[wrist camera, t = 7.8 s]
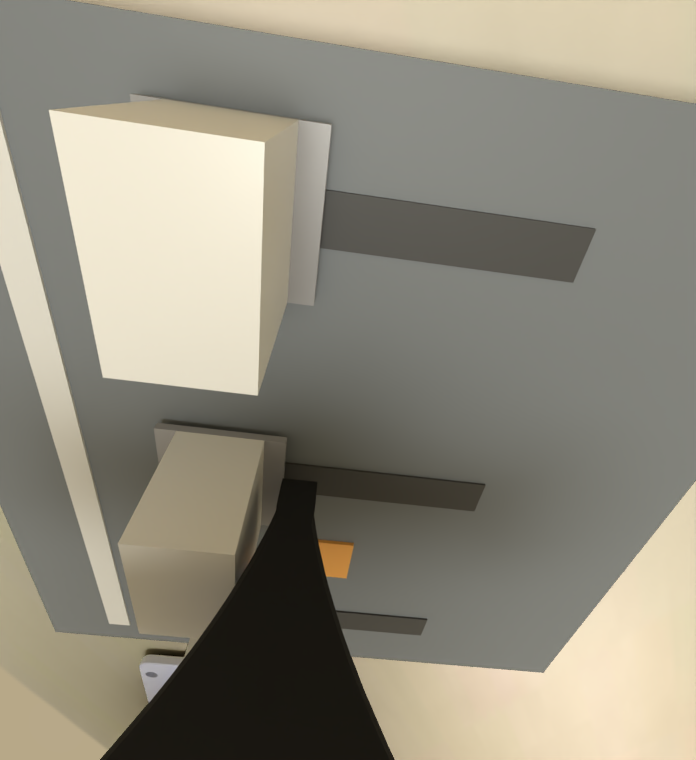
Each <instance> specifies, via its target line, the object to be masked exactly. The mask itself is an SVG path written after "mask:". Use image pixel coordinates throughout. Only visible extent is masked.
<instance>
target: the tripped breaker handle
mask: <svg viewBox="0 0 696 760" xmlns="http://www.w3.org/2000/svg"><path fill="white" fill-rule="evenodd" d="M154 434H155V441H156V448H157V455H158V463H159V465H158V467H157V469H156V471H155V473H154V475H153V477H152V478H151V480H150V482H149V484H148V486H147V488H146V490H145V492H144V494H143V496H142V498H141V500H140V502H139V504H138V506H137V507H136V509H135V511H134V513H133V515H132V517H131V519H130V521H129V523H128V525H127V527H126V529H125V531H124V533H123V535H122V536H121V538H120V540H119V542H118V547H119V551H120V556H121V560H122V564H123V568H124V572H125V577H126V581H127V585H128V589H129V593H130V597H131V602H132V606H133V610H134V614H135V618H136V622H137V627H138V631H139V634H149V635H161V636H173V637H185V638H197V639H199V638H200V636H201V635H202V634H203V632H204V631H205V629H206V628H207V627H208V625H209V624H210V622H211V621H212V620H213V618H214V617H215V615H216V614H217V612H218V611H219V609H220V608H221V606H222V605H223V603H224V602H225V600H226V599H227V597H228V596H229V594H230V593H231V591H232V589H233V588H234V586H235V584H236V583H237V581H238V580H239V578H240V576H241V575H242V573H243V572H244V570H245V568H246V567H247V565H248V563H249V562H250V560H251V558H252V556H253V555H254V553H255V550H256V546H257V541H258V536H259V532H260V527H261V525H266V526H269V524H270V522H271V520H272V518H273V516H274V514H275V512H276V505H277V500H278V496H279V491H280V487H281V483H282V479H283V478H284V472H285V459H286V446H287V437H280V436H271V435H262V434H253V433H244V432H235V431H226V430H217V429H208V428H199V427H190V426H182V425H173V424H164V423H157V424H156V425H155V427H154Z"/></svg>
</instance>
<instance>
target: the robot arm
mask: <svg viewBox="0 0 696 760" xmlns="http://www.w3.org/2000/svg"><path fill="white" fill-rule="evenodd" d="M316 492H317V482H314V481H304V480H295V479H286V478H283V479H282V483H281V487H280V491H279V496H278V500H277V505H276V512H275V514H274V516H273V518H272V520H271V522H270V524H269V527H268V529H267V531H266V532H265V534H264V536H263V538H262V540H261V542H260V544H259V545H258V547H257V549H256V551H255V553H254V555H253V556H252V558H251V560H250V562H249V563H248V565H247V567H246V568H245V570H244V572H243V573H242V575H241V576H240V578H239V580H238V581H237V583H236V584H235V586H234V588H233V589H232V591H231V593H230V594H229V596H228V597H227V599H226V600H225V602H224V603H223V605H222V606H221V608H220V609H219V611H218V612H217V614H216V615H215V617H214V618H213V620H212V621H211V622H210V624H209V625H208V627H207V628H206V629H205V631H204V632H203V634H202V635H201V636H200V638H199V639H198V641H197V642H196V643H195V645H194V646H193V647H192V649H191V650H190V651H189V653H188V654H187V655H186V656H185V658H184V657H178V656H165V655H153V654H151V655H145V656H144V657H143V658H142V660H141V662H140V665H139V669H140V673H141V676H142V680H143V684H144V688H145V692H146V696H147V700H148V704H147V706H146V707H145V708H144V709H143V710H142V711H141V713H140V714H139V715H138V716H137V717H136V718H135V720H134V721H133V722H132V723H131V724H130V725H129V727H128V728H127V729H126V730H125V731H124V733H123V734H122V735H121V736H120V737H119V738H118V740H117V741H116V742H115V743H114V744H113V745H112V747H111V748H110V749H109V750H108V751H107V752H106V754H105V755H104V756H103V757H102V758H101V759H100V760H394V757H393V755H392V753H391V751H390V749H389V747H388V744H387V742H386V740H385V738H384V735H383V733H382V731H381V728H380V726H379V724H378V721H377V719H376V717H375V714H374V712H373V710H372V707H371V705H370V703H369V700H368V698H367V696H366V694H365V691H364V689H363V686H362V683H361V681H360V678H359V676H358V673H357V670H356V668H355V665H354V663H353V660H352V657H351V654H350V652H349V649H348V646H347V643H346V640H345V638H344V635H343V632H342V629H341V626H340V623H339V619H338V616H337V613H336V610H335V606H334V603H333V599H332V596H331V593H330V589H329V585H328V582H327V578H326V574H325V570H324V565H323V561H322V556H321V552H320V548H319V543H318V537H317V532H316V525H315V518H314V512H315V503H316Z"/></svg>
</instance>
